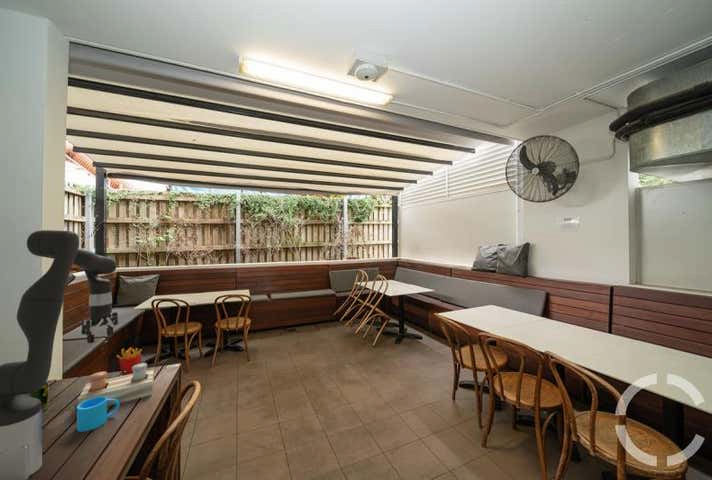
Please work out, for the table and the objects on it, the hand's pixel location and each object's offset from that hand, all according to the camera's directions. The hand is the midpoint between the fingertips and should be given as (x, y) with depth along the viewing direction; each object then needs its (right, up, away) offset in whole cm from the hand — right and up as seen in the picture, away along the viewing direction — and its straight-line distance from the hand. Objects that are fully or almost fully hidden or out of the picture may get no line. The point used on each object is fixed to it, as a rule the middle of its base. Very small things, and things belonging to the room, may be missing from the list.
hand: (100, 339), depth 122 cm
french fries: (-1, -26, +17) cm, 31 cm away
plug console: (+8, -25, 0) cm, 27 cm away
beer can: (-16, -26, -10) cm, 32 cm away
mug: (+15, -26, -17) cm, 34 cm away
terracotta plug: (+3, -21, -4) cm, 21 cm away
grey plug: (+14, -21, +4) cm, 26 cm away
